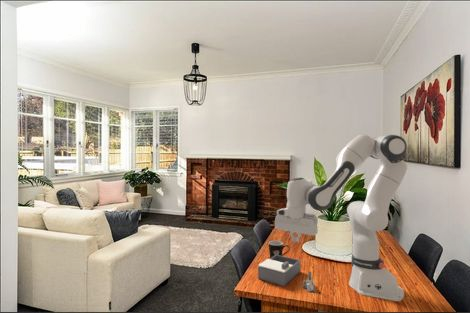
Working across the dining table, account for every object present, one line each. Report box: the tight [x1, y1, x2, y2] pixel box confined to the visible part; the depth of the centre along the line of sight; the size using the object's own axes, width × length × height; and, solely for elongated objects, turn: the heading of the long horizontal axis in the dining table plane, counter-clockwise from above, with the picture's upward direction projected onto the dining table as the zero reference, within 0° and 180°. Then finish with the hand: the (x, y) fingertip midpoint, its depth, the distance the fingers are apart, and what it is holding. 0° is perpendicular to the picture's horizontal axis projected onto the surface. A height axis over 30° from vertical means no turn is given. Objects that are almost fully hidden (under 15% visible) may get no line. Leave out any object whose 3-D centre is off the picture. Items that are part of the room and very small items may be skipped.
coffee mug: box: [268, 240, 290, 259], centre depth 159 cm, size 12×9×10 cm
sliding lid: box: [257, 258, 293, 273], centre depth 136 cm, size 14×10×2 cm
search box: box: [257, 255, 301, 287], centre depth 140 cm, size 14×20×6 cm
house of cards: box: [302, 271, 316, 292], centre depth 128 cm, size 9×9×8 cm
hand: (295, 241), depth 130 cm, fingers closed
